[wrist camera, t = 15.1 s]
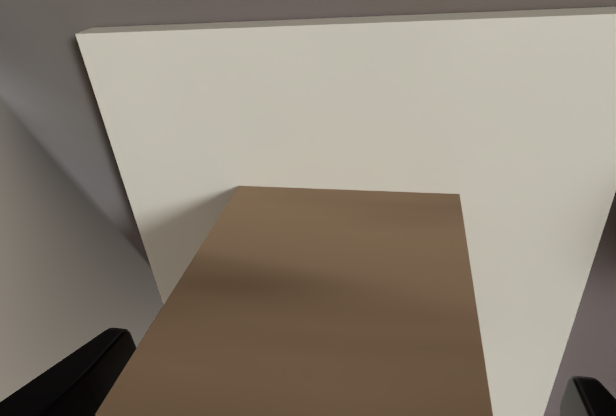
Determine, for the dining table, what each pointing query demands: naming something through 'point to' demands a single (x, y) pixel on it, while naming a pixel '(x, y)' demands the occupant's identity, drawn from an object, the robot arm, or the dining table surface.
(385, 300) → the cap block
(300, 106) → the trivet
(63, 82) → the dining table surface
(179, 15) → the dining table surface
